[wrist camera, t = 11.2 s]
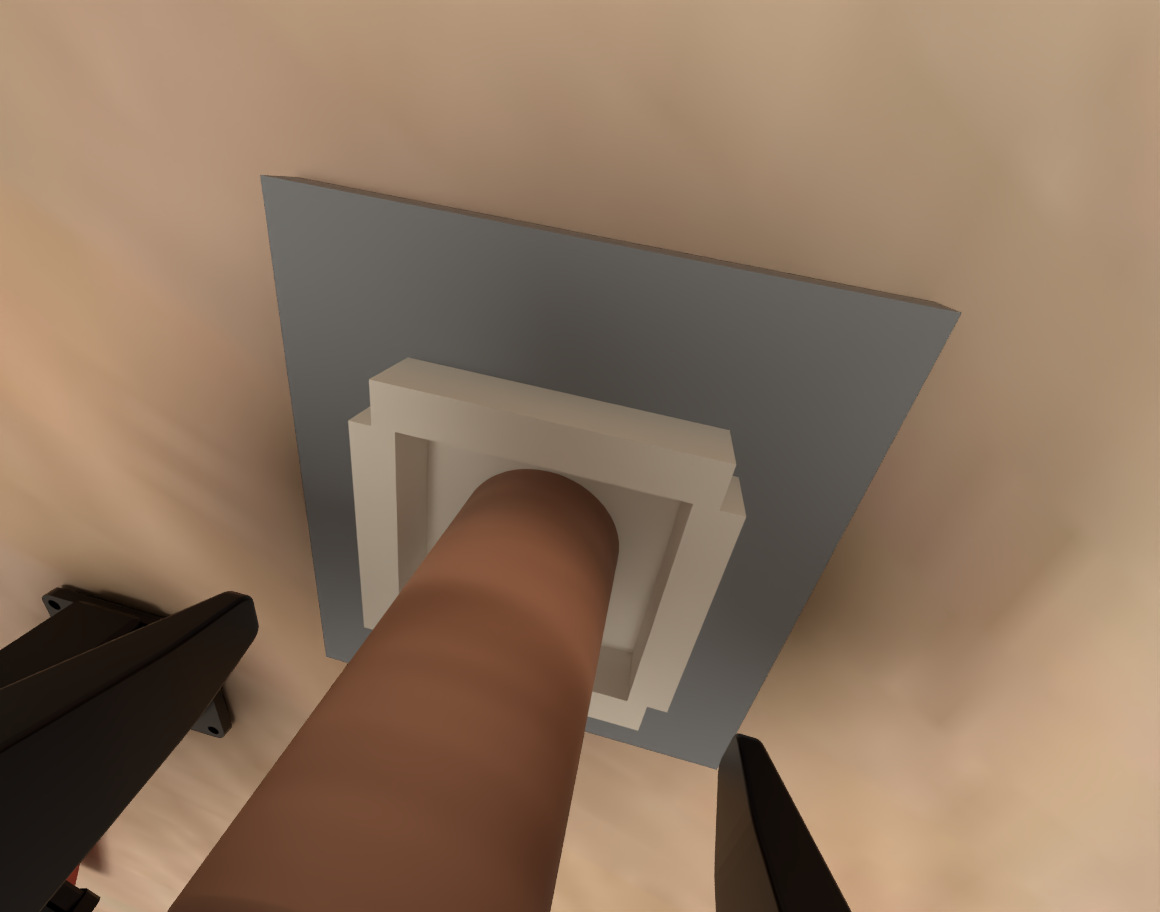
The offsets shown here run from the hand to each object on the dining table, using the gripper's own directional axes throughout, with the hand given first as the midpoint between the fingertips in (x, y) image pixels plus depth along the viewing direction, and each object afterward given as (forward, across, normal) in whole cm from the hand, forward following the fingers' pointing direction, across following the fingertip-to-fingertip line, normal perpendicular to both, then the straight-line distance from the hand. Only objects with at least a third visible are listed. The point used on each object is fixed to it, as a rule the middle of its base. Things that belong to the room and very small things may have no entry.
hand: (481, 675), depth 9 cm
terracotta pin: (+4, 0, 0) cm, 4 cm away
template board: (+5, 0, 0) cm, 5 cm away
